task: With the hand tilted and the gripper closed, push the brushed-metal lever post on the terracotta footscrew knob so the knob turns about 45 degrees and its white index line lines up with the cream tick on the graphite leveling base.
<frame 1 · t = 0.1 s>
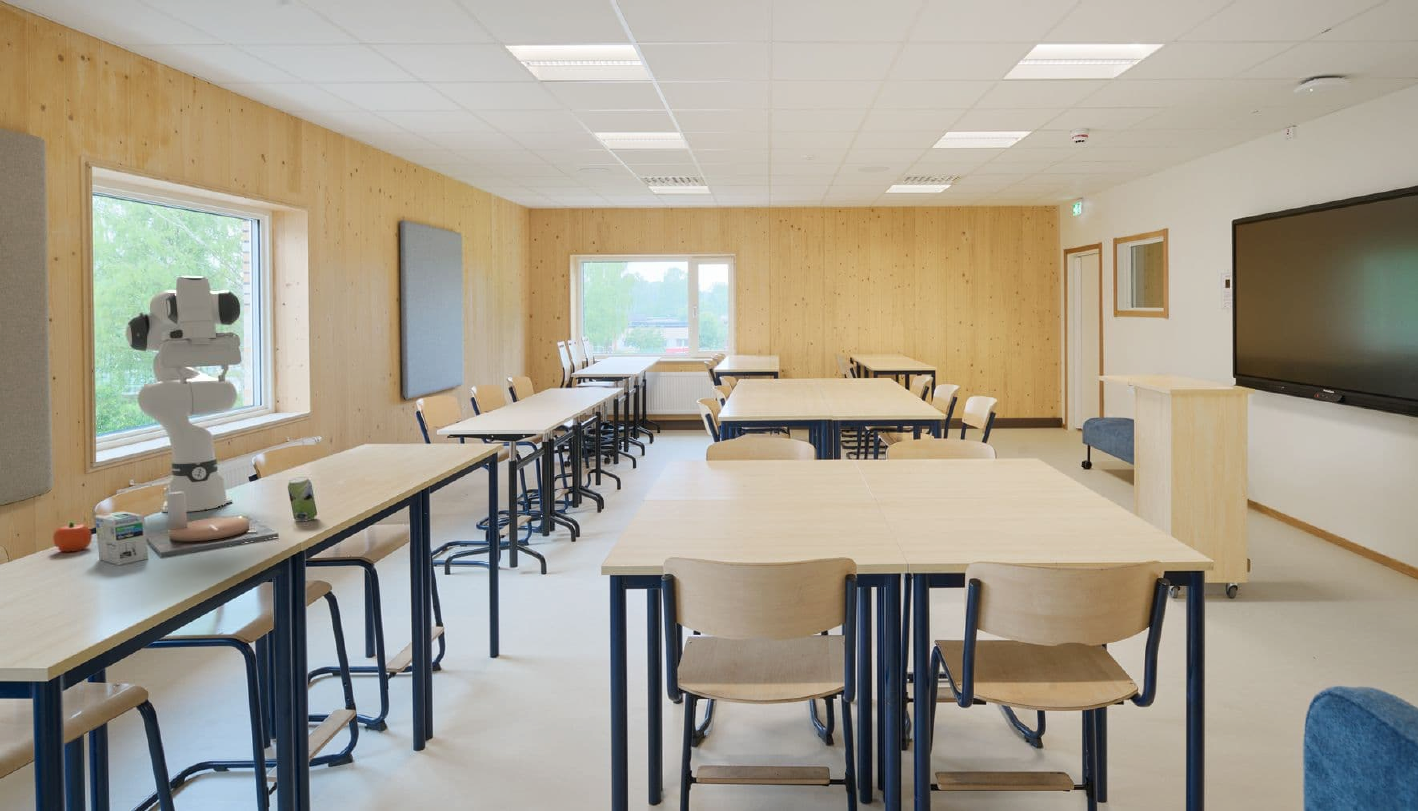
hand: (203, 382, 251), 39 cm above the table, tool pointing down, fingers open, 8 cm apart
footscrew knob: (208, 511, 231), point 7 cm above the table, hinge at 0.0°
leveling base: (210, 538, 232), on the table
pumpkin: (74, 551, 223), on the table
light bulb box: (123, 560, 213), on the table
beverage can: (304, 521, 250), on the table
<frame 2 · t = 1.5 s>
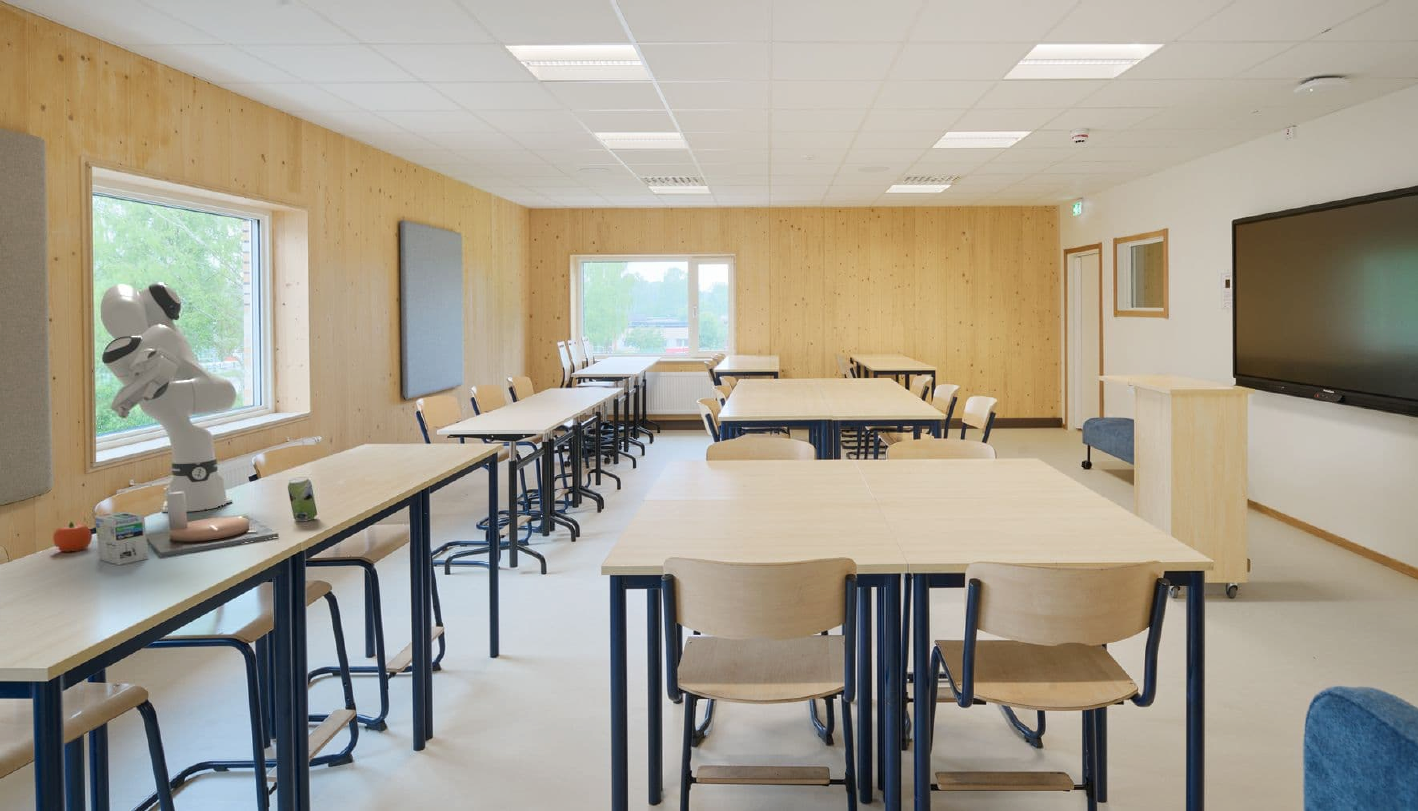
hand: (134, 407, 228), 34 cm above the table, tool tilted 50°, fingers open, 8 cm apart
nothing on the table moved.
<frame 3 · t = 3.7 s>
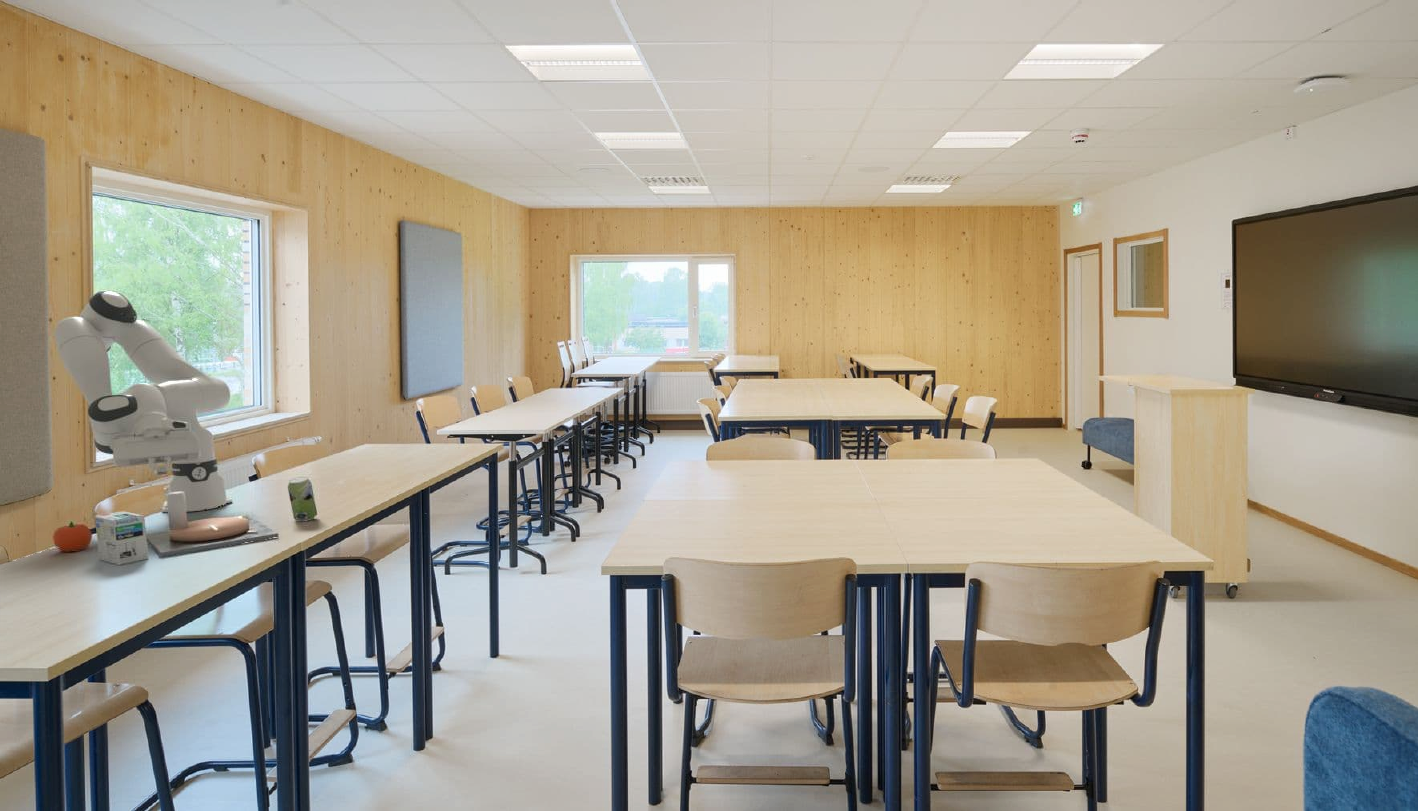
hand: (162, 473, 238), 16 cm above the table, tool tilted 45°, fingers closed
nothing on the table moved.
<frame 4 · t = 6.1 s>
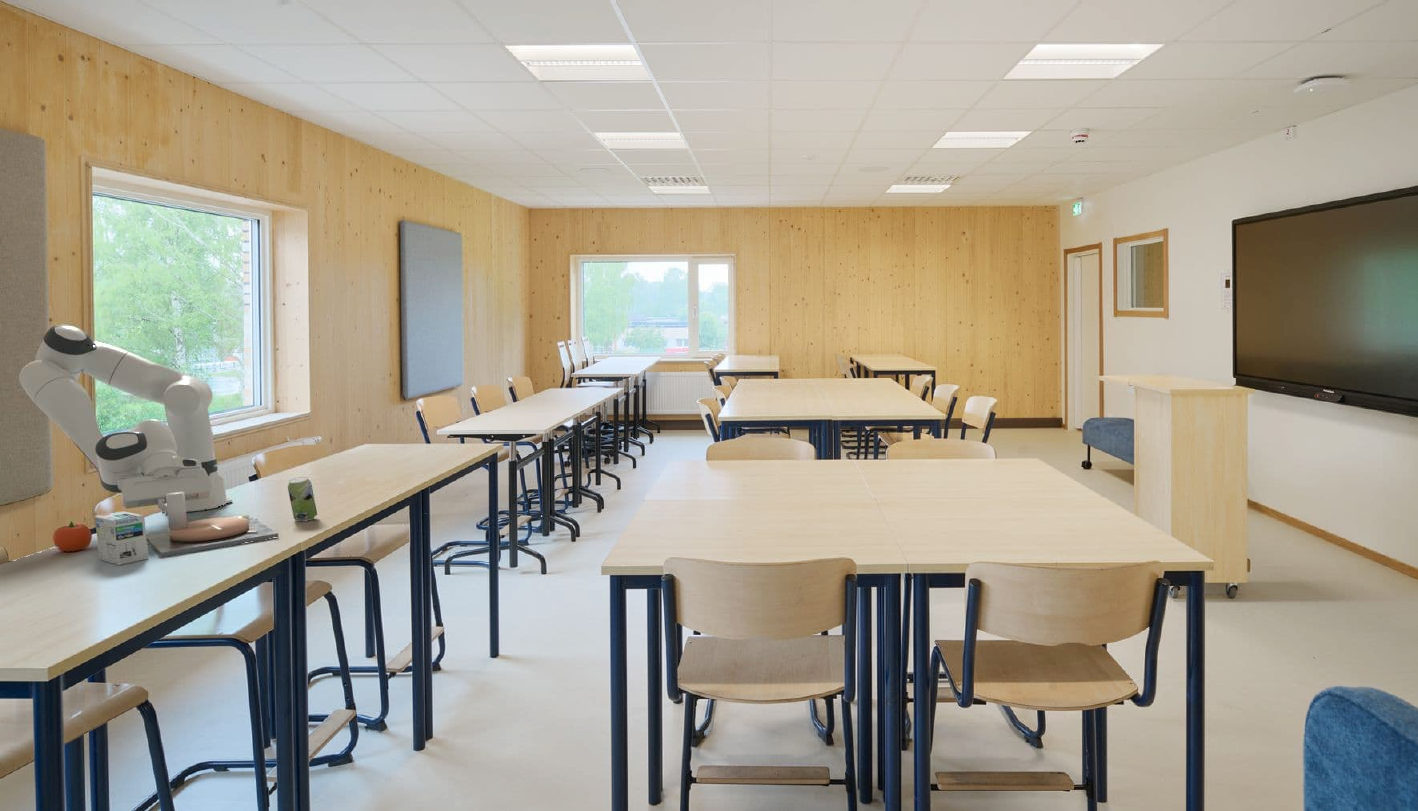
hand: (172, 514, 230), 7 cm above the table, tool tilted 45°, fingers closed, pressing on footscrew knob
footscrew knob: (208, 511, 231), point 7 cm above the table, hinge at 5.2°, touching gripper
everything else where it was.
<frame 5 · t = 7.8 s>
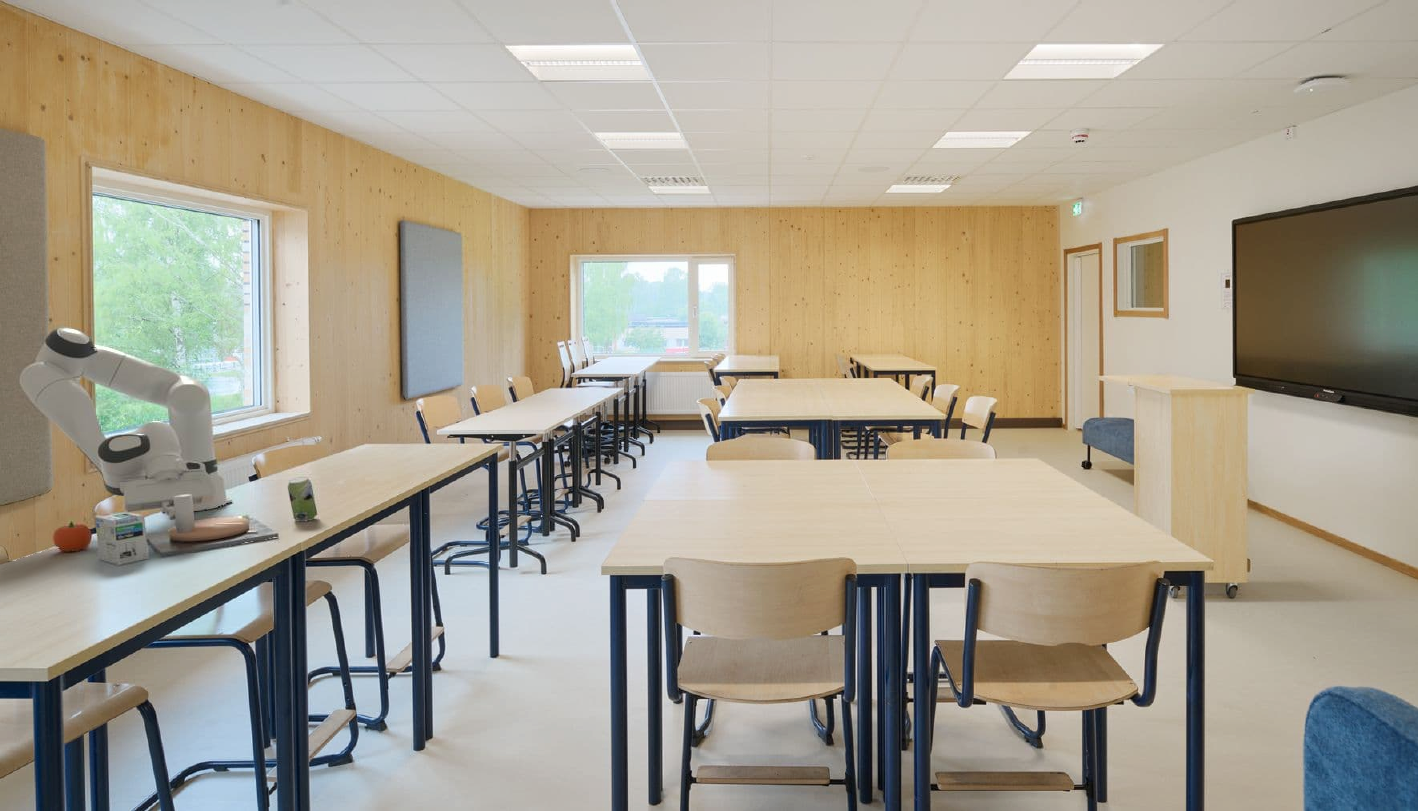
hand: (174, 518, 226), 7 cm above the table, tool tilted 45°, fingers closed
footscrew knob: (208, 511, 231), point 7 cm above the table, hinge at 51.1°, touching gripper
everything else where it was.
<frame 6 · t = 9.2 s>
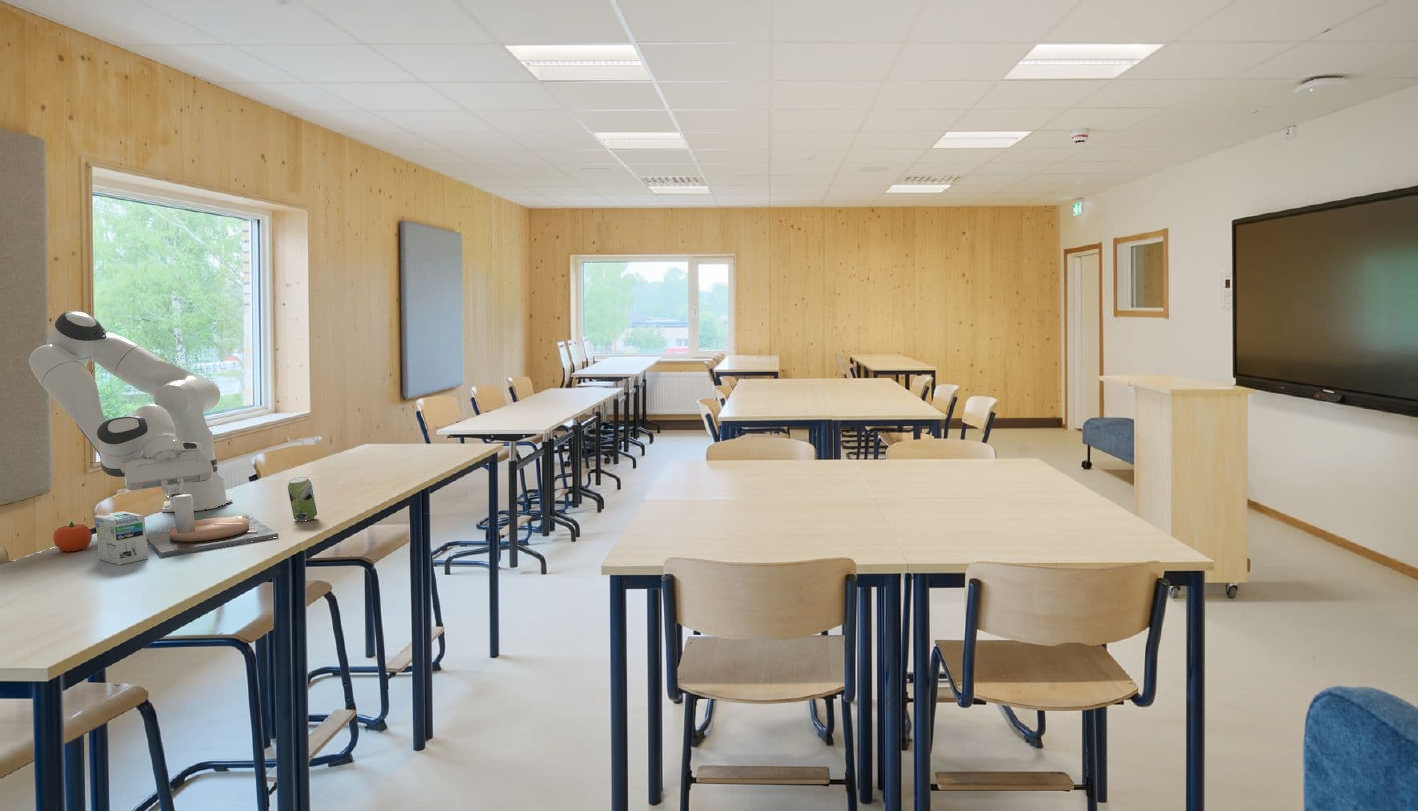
hand: (175, 495, 236), 11 cm above the table, tool tilted 45°, fingers closed
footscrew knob: (208, 511, 231), point 7 cm above the table, hinge at 51.2°
everything else where it was.
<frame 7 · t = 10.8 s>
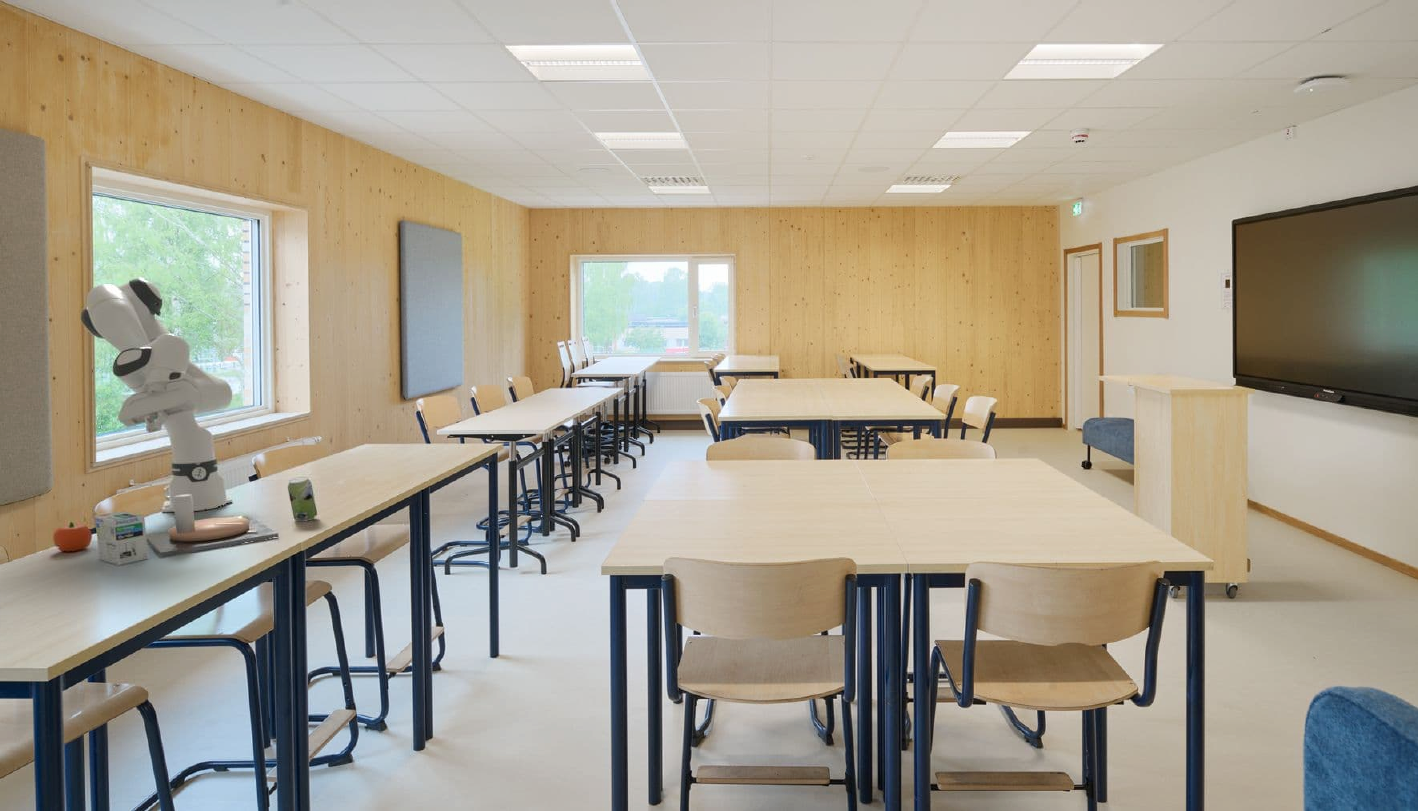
hand: (153, 430, 229), 28 cm above the table, tool tilted 40°, fingers closed
nothing on the table moved.
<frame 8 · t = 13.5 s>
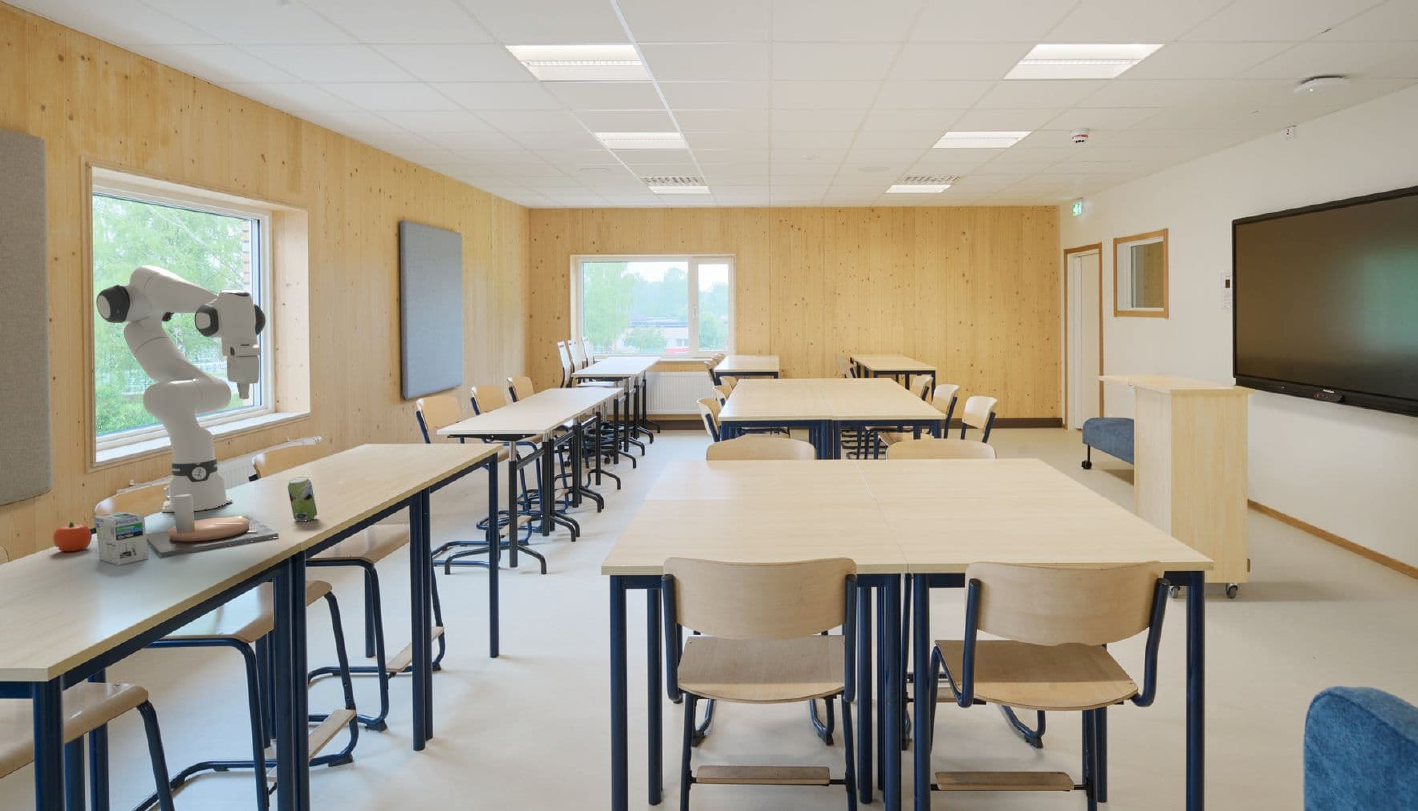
hand: (244, 399, 250), 34 cm above the table, tool pointing down, fingers closed
nothing on the table moved.
at the end: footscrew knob at +51° (first picture: +0°) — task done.
